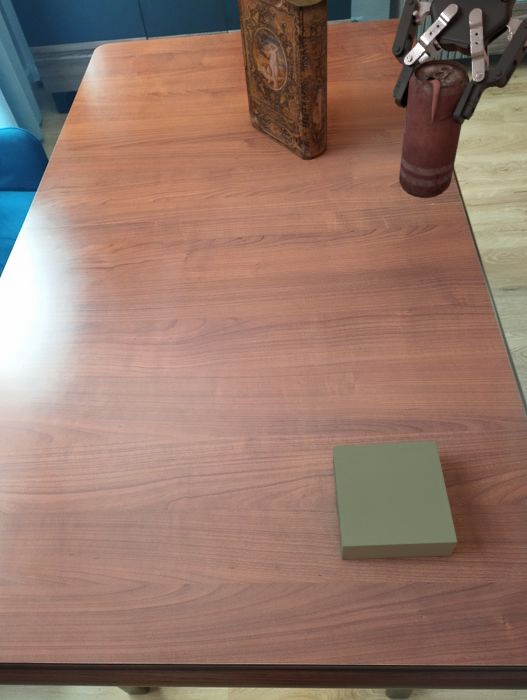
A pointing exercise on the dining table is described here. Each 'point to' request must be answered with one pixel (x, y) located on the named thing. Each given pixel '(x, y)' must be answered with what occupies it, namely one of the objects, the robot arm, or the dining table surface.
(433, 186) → the can
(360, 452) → the plate
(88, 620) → the dining table surface
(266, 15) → the book
